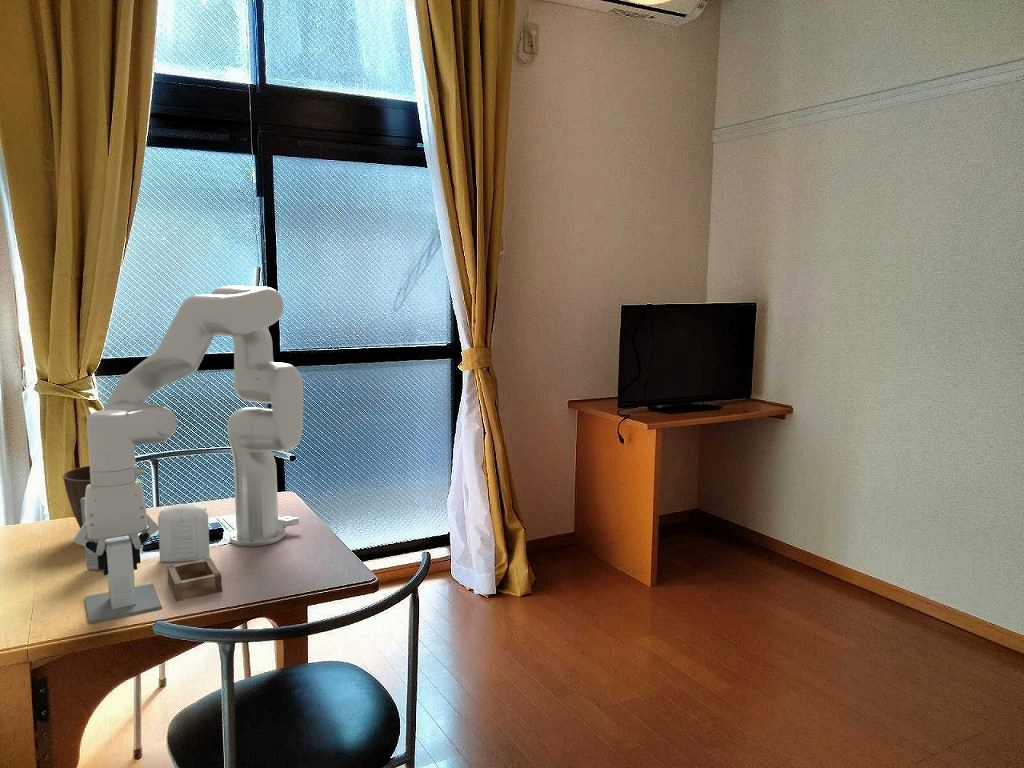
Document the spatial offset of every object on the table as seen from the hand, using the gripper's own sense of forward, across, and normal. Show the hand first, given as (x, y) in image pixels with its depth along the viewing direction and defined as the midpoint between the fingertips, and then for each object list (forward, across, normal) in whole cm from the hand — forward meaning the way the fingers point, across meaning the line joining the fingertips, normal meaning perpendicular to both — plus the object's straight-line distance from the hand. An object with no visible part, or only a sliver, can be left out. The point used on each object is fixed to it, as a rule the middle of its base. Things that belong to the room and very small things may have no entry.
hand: (119, 569), depth 140 cm
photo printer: (+7, -14, -18) cm, 24 cm away
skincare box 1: (+7, 0, -23) cm, 24 cm away
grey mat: (+7, 0, 0) cm, 7 cm away
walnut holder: (+7, -13, -1) cm, 15 cm away
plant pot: (+7, 0, -43) cm, 44 cm away
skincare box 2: (+7, 0, 0) cm, 7 cm away
